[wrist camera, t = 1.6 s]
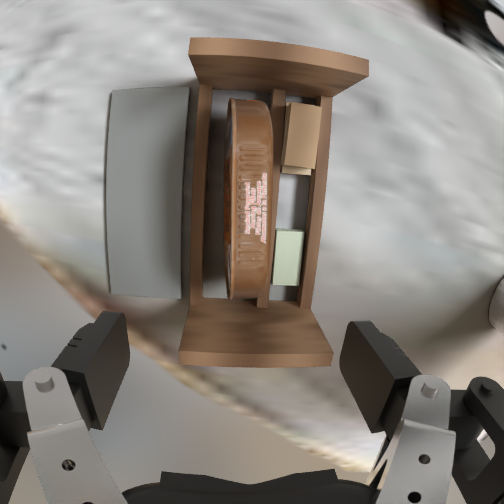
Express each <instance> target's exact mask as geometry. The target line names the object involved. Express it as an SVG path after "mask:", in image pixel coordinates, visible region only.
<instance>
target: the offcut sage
mask: <svg viewBox="0 0 504 504" xmlns="http://www.w3.org/2000/svg"><path fill="white" fill-rule="evenodd" d="M303 239H304V231H303V230H301V229H279V228H275V240H274V253H273V266H272V278H271V282H272V285H292V286H299V278H300V268H301V259H302V249H303Z"/></svg>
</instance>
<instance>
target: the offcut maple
mask: <svg viewBox="0 0 504 504" xmlns="http://www.w3.org/2000/svg"><path fill="white" fill-rule="evenodd" d="M290 103H291V102H286V103H285V112H284V126H283V140H282V149H283V141H284V132H285V124H286V115H287V107H288V105H289V104H290ZM313 106H315V105H313ZM281 158H282V154H281ZM280 173H289V174H302V175H311V169H309V168H302V167H296V166H289V165H281V167H280Z"/></svg>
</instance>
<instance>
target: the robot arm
mask: <svg viewBox="0 0 504 504" xmlns="http://www.w3.org/2000/svg"><path fill="white" fill-rule="evenodd" d="M489 321H490V323H491V325H492V326H493V327H494V328H496V329H497V330H498V331H499V332H501V333H502V334H503V335H504V278H503V279H502V280H501V282H500V283H499V285H498V287H497V288H496V291H495V293H494V295H493V298H492V300H491V304H490V308H489ZM129 361H130V349H129V342H128V335H127V327H126V319H125V315H124V314H123V313H117V312H107V311H103V312H102V313H101V314H100V316H99V317H98V318H97V320H96V321H95V322H94V323H89V324H87V325H85V326H84V327H82V328H81V329H79V330H78V331H77V332H76V334H75V335H74V336H73V339H71V340H70V342H69V343H68V346H66V347H65V348H64V349H63V351H62V352H61V354H60V355H59V356H58V358H57V359H56V360H55V362H54V363H53V364H52V366H51V367H41V368H37V369H35V370H33V371H31V372H29V373H28V374H27V375H26V376H25V378H24V380H23V382H20V381H4V380H3V378H2V375H1V373H0V504H8V503H9V500H10V497H11V495H12V492H13V489H14V487H15V484H16V481H17V479H18V476H19V474H20V471H21V469H22V466H23V464H24V462H25V459H26V457H27V455H28V452H29V450H30V449H31V453H32V456H33V459H34V463H35V467H36V470H37V473H38V476H39V480H40V483H41V486H42V488H43V491H44V494H45V496H46V500H47V502H48V504H446V500H447V495H448V490H449V485H450V479H451V474H452V476H453V478H454V480H455V482H456V484H457V485H458V487H459V489H460V491H461V493H462V495H463V497H464V499H465V501H466V503H467V504H504V389H503V388H502V387H501V386H500V385H499V384H498V383H497V382H495V381H494V380H492V379H490V378H487V377H476V378H473V379H472V380H471V382H470V384H469V386H468V388H467V390H451V389H450V387H449V385H448V384H447V383H446V382H445V381H444V380H442V379H441V378H439V377H436V376H433V375H428V374H421V373H420V372H419V370H418V369H417V368H416V367H415V365H414V364H413V363H412V362H411V361H410V359H409V358H408V357H407V356H406V355H405V353H404V352H403V351H402V350H401V349H399V346H398V345H397V344H396V343H395V342H394V340H393V339H391V338H390V337H388V336H386V335H385V334H383V333H380V332H379V331H378V329H377V328H376V327H375V326H374V324H373V323H372V322H371V321H351V322H350V323H349V324H348V326H347V330H346V334H345V339H344V343H343V347H342V351H341V355H340V370H341V373H342V375H343V377H344V379H345V381H346V383H347V385H348V387H349V389H350V391H351V393H352V395H353V397H354V399H355V401H356V403H357V405H358V407H359V409H360V411H361V413H362V415H363V417H364V419H365V421H366V423H367V425H368V427H369V429H370V431H371V433H377V432H382V431H385V433H386V436H385V438H384V440H383V442H382V445H381V448H380V450H379V453H378V455H377V458H376V460H375V463H374V465H373V468H372V470H371V472H370V475H369V477H368V479H367V481H366V483H365V484H362V483H359V482H354V481H349V480H341V479H338V478H337V475H336V472H335V469H330V470H322V471H314V472H305V473H295V474H291V475H288V476H284V477H281V478H277V479H273V480H270V481H266V482H262V483H257V484H250V485H249V484H242V483H237V482H232V481H227V480H223V479H219V478H214V477H210V476H206V475H193V474H181V473H171V472H163V471H162V473H161V479H160V482H158V483H150V484H144V485H141V486H137V487H134V488H131V489H128V490H126V491H124V492H122V493H121V492H120V490H119V488H118V487H117V485H116V483H115V482H114V480H113V478H112V476H111V475H110V473H109V471H108V469H107V467H106V465H105V463H104V462H103V460H102V458H101V456H100V454H99V452H98V450H97V448H96V446H95V444H94V442H93V440H92V438H91V436H90V434H89V430H90V428H94V429H99V430H103V428H104V425H105V423H106V420H107V417H108V415H109V412H110V410H111V407H112V405H113V402H114V400H115V397H116V395H117V392H118V390H119V387H120V385H121V383H122V380H123V378H124V375H125V373H126V371H127V368H128V366H129ZM483 429H485V431H486V432H487V434H488V435H489V436H490V438H491V439H492V441H493V442H494V444H495V454H494V457H493V458H492V459H491V461H490V459H489V458H488V456H487V454H486V453H485V451H484V450H483V448H482V447H481V446H480V444H479V442H478V441H477V438H478V436H479V435H480V433H481V432H482V430H483Z"/></svg>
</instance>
